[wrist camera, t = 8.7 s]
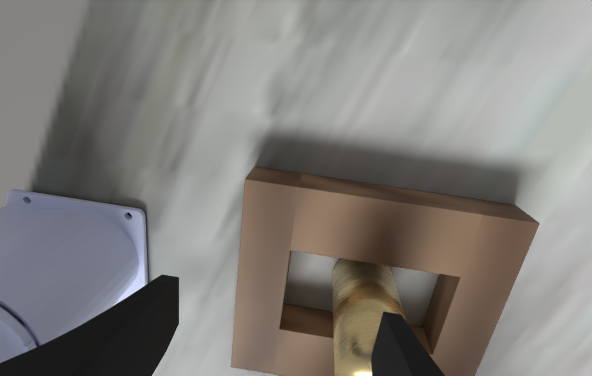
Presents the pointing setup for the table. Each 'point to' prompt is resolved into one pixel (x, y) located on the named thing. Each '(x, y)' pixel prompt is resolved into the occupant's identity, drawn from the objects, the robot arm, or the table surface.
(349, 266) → the brass peg
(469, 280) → the jig plate
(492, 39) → the table surface
